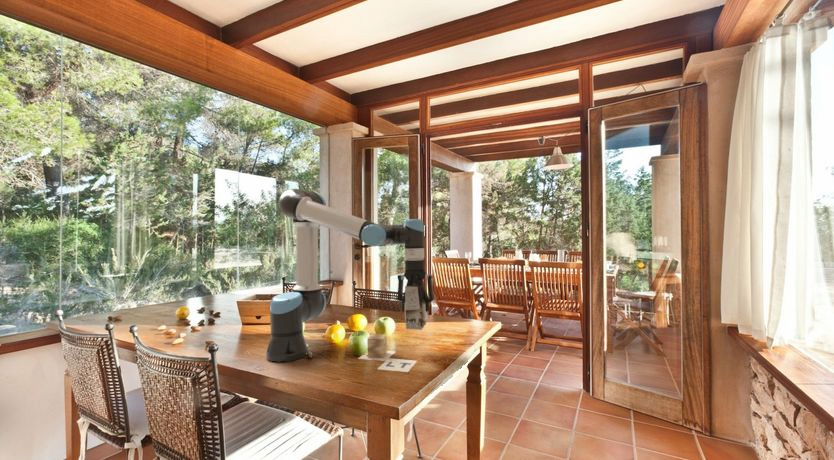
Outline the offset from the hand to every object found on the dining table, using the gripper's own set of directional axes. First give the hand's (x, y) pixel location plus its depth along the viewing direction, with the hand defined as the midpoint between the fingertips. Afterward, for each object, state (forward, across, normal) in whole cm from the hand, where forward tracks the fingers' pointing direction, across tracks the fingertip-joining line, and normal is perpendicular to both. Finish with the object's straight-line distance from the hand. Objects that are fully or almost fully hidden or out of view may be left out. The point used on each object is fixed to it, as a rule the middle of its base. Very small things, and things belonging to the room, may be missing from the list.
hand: (416, 319), depth 141 cm
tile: (+13, -3, -13) cm, 19 cm away
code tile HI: (+13, -14, -5) cm, 20 cm away
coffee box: (+3, 0, 0) cm, 3 cm away
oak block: (+13, -14, -5) cm, 20 cm away
